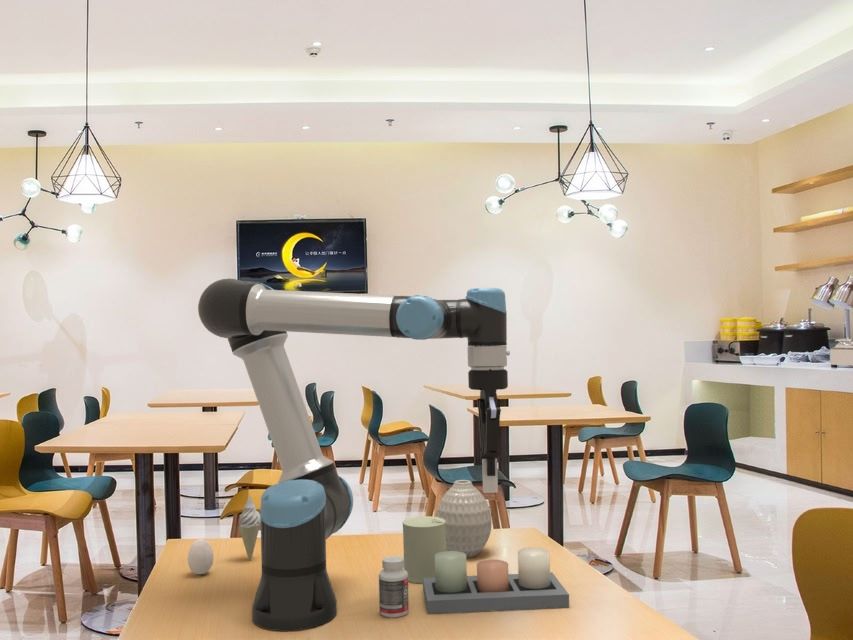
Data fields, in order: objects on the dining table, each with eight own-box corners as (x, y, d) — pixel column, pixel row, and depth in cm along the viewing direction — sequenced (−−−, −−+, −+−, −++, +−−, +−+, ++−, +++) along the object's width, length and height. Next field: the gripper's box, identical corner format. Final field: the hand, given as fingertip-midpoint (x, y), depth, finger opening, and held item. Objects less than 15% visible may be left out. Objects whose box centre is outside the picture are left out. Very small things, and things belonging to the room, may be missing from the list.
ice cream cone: (266, 559, 172) (265, 493, 173) (249, 564, 168) (248, 497, 168) (250, 556, 175) (249, 491, 175) (234, 561, 171) (232, 495, 171)
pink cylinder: (479, 602, 140) (479, 569, 140) (475, 591, 146) (474, 560, 146) (511, 600, 140) (510, 568, 140) (506, 589, 146) (505, 558, 146)
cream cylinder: (522, 589, 140) (521, 557, 141) (516, 579, 146) (515, 548, 147) (553, 587, 141) (552, 555, 141) (546, 577, 147) (545, 546, 147)
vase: (494, 561, 166) (492, 486, 167) (436, 562, 167) (434, 487, 167) (490, 545, 179) (488, 475, 180) (436, 546, 179) (435, 476, 180)
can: (443, 584, 152) (441, 525, 152) (398, 582, 154) (397, 523, 154) (450, 570, 161) (449, 514, 161) (408, 569, 163) (407, 513, 163)
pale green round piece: (436, 593, 139) (436, 560, 140) (434, 582, 145) (433, 551, 146) (468, 591, 140) (468, 559, 140) (465, 581, 146) (464, 550, 146)
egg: (194, 580, 158) (193, 543, 158) (183, 574, 162) (183, 538, 162) (218, 574, 162) (217, 538, 162) (207, 569, 166) (206, 534, 166)
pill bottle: (411, 616, 135) (410, 561, 135) (382, 619, 134) (380, 564, 134) (405, 606, 140) (404, 553, 140) (377, 609, 139) (376, 556, 139)
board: (427, 614, 136) (427, 600, 136) (423, 590, 149) (422, 578, 149) (569, 607, 138) (568, 594, 138) (552, 584, 150) (552, 572, 151)
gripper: (513, 369, 138) (516, 498, 137) (501, 366, 151) (504, 484, 150) (472, 370, 137) (475, 500, 137) (464, 367, 150) (466, 486, 150)
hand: (490, 491), depth 144 cm, fingers closed
